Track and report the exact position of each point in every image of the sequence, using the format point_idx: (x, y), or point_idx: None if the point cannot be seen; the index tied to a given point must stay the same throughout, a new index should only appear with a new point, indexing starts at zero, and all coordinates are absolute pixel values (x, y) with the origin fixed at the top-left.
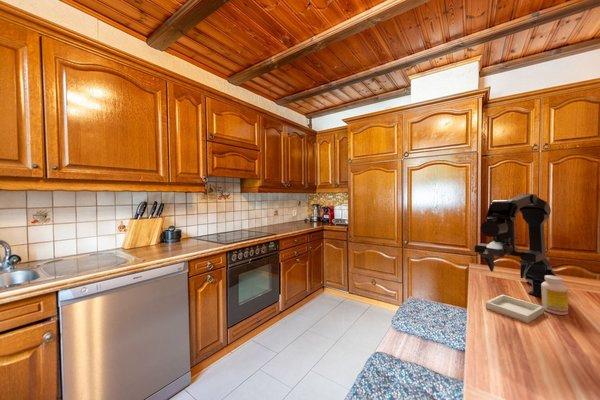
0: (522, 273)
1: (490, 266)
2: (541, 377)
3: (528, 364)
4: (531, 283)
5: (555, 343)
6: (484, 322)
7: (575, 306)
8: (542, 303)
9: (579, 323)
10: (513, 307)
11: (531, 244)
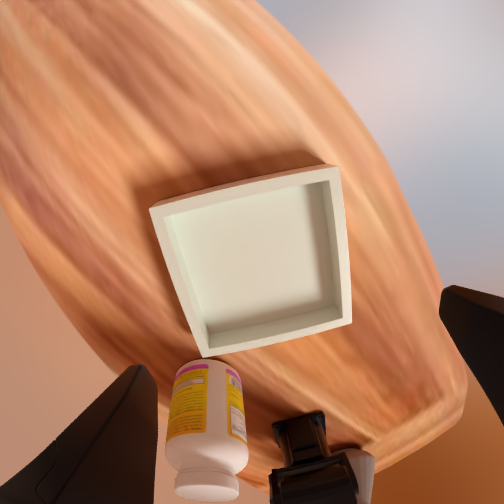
0: (92, 406)
1: (492, 306)
2: (9, 4)
3: (33, 3)
4: (349, 449)
5: (44, 157)
6: (225, 32)
7: None
8: (229, 378)
9: (128, 359)
10: (273, 278)
11: None
